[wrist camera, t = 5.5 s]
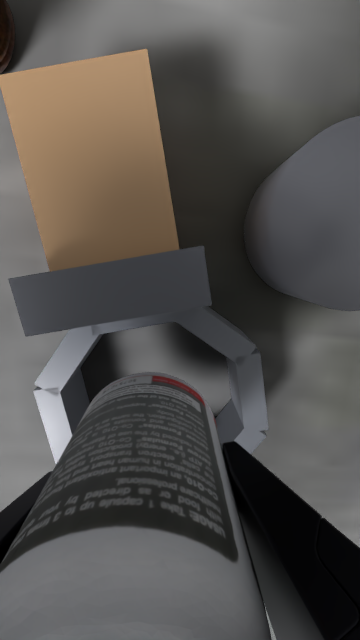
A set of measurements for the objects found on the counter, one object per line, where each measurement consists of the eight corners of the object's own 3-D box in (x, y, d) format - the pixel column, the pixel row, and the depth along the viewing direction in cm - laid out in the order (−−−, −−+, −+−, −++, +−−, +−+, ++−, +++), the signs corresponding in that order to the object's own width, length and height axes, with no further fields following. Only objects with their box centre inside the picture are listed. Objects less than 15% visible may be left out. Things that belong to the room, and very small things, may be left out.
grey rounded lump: (377, 284, 13) (450, 295, 10) (250, 306, 13) (278, 324, 10) (376, 144, 12) (459, 97, 8) (235, 168, 12) (261, 133, 8)
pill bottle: (58, 411, 10) (-472, 1119, 2) (171, 343, 9) (156, 873, 1) (132, 504, 11) (10, 1253, 3) (238, 446, 10) (475, 1131, 2)
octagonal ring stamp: (257, 447, 15) (302, 548, 10) (89, 475, 15) (45, 589, 10) (217, 110, 11) (254, -12, 6) (-3, 149, 11) (-146, 61, 6)
